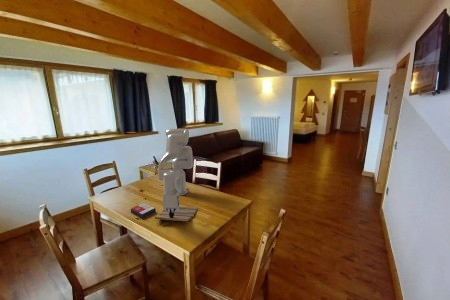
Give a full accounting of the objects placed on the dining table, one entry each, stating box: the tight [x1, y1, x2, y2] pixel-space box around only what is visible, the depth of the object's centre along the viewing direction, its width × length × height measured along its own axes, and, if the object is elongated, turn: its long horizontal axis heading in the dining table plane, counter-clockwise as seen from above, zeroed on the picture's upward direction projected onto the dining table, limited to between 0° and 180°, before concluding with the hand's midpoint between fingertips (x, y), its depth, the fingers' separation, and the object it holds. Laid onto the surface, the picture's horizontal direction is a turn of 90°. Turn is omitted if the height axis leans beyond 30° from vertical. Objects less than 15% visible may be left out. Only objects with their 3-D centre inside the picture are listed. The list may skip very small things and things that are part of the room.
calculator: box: [130, 202, 157, 220], centre depth 153 cm, size 11×4×15 cm
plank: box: [154, 214, 192, 222], centre depth 142 cm, size 9×22×1 cm, turn 83°
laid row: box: [159, 205, 198, 219], centre depth 153 cm, size 12×24×1 cm, turn 83°
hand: (171, 217), depth 139 cm, fingers closed
